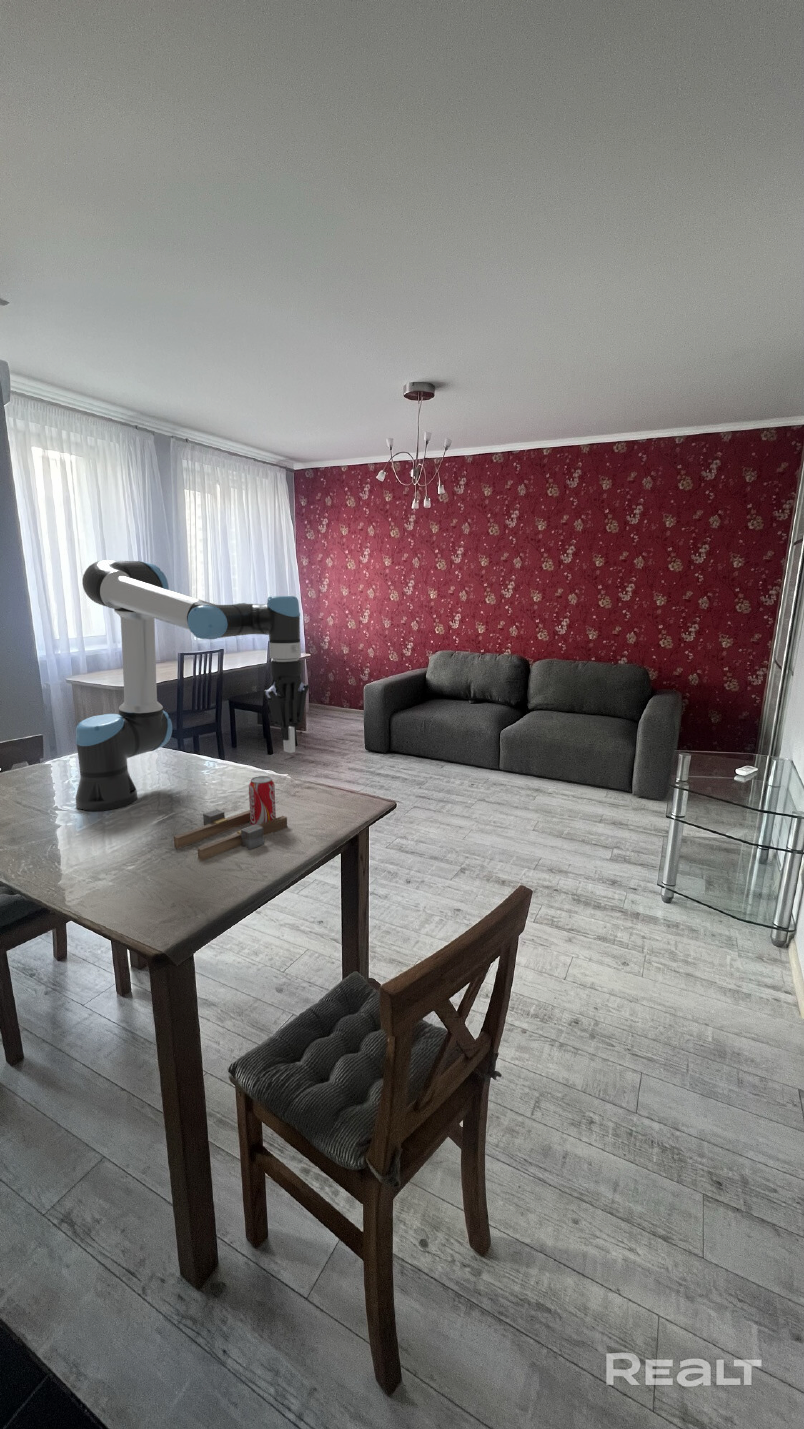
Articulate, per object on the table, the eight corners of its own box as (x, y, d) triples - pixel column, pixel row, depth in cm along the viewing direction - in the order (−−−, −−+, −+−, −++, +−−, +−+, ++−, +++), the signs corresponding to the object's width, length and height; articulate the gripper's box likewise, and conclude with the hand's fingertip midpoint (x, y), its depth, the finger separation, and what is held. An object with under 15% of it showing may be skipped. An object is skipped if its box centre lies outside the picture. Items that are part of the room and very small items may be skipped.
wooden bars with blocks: (166, 842, 137) (164, 826, 136) (250, 812, 156) (250, 798, 155) (211, 865, 126) (210, 847, 125) (296, 830, 145) (296, 814, 144)
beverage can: (269, 830, 144) (267, 784, 142) (246, 828, 146) (243, 782, 143) (280, 821, 150) (278, 776, 148) (257, 819, 151) (255, 774, 149)
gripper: (274, 663, 139) (279, 759, 144) (315, 658, 149) (318, 748, 154) (254, 660, 143) (259, 754, 148) (295, 656, 153) (299, 744, 158)
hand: (289, 751), depth 151 cm, fingers closed
